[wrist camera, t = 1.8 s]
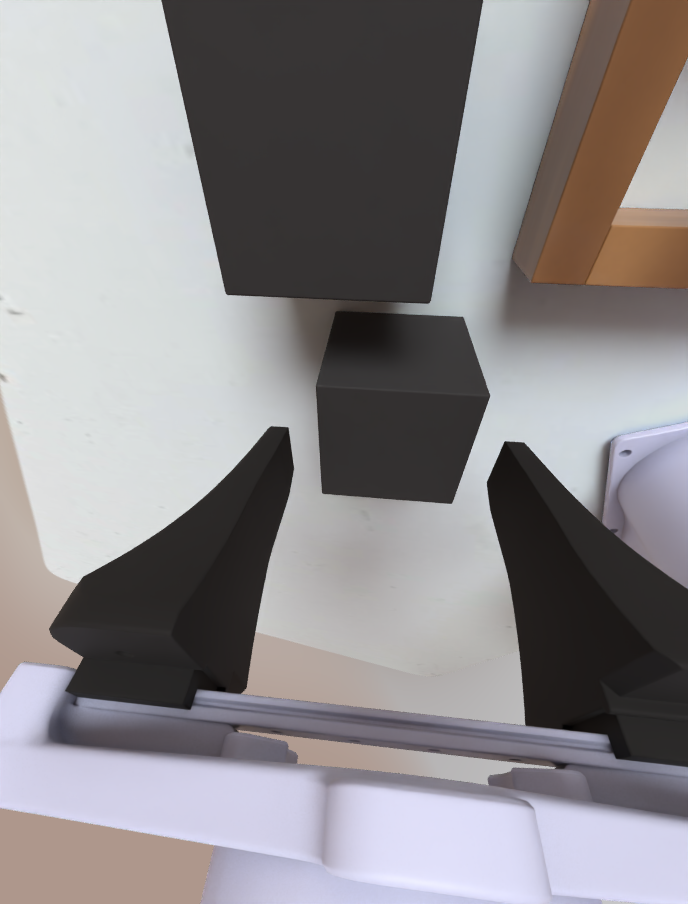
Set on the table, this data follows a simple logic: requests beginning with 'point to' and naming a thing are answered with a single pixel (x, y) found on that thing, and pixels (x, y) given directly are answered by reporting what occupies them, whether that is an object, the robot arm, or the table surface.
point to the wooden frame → (609, 156)
